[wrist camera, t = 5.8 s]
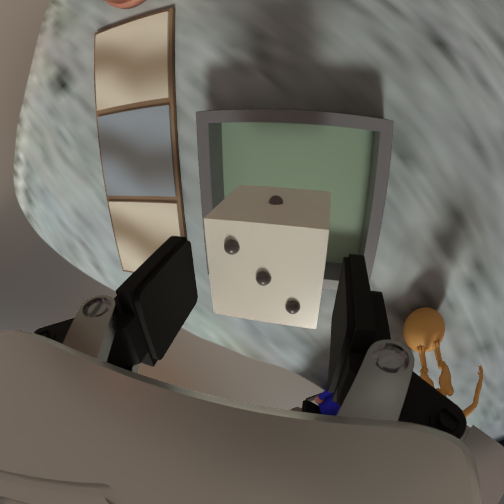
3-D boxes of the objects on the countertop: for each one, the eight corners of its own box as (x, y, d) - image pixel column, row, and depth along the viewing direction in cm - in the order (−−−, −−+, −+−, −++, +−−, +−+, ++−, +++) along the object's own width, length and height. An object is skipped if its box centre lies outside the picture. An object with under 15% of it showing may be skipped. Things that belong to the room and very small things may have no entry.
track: (97, 33, 17) (93, 33, 17) (175, 8, 15) (171, 6, 15) (125, 268, 29) (121, 271, 28) (192, 279, 27) (190, 283, 26)
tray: (212, 110, 19) (196, 111, 17) (383, 118, 17) (393, 120, 14) (220, 255, 25) (208, 274, 22) (363, 271, 22) (366, 292, 20)
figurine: (457, 284, 21) (504, 393, 10) (460, 329, 23) (491, 430, 12) (373, 313, 24) (383, 433, 14) (386, 354, 26) (393, 460, 16)
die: (233, 178, 14) (192, 213, 10) (331, 185, 13) (329, 225, 9) (237, 261, 17) (205, 315, 13) (322, 272, 15) (314, 334, 11)
